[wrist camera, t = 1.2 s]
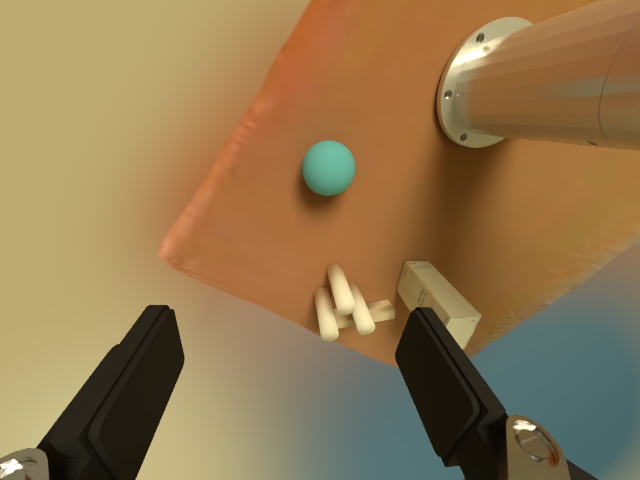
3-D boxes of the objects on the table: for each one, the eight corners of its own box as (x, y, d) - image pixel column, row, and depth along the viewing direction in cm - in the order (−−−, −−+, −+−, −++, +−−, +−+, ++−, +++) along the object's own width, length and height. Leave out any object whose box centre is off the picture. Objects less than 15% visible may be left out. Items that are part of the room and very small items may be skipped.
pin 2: (357, 281, 39) (375, 320, 32) (358, 292, 40) (375, 332, 33) (343, 283, 39) (357, 323, 32) (344, 294, 40) (358, 336, 33)
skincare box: (404, 260, 38) (450, 316, 28) (429, 260, 39) (484, 314, 28) (395, 291, 41) (434, 352, 31) (419, 290, 42) (465, 350, 31)
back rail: (388, 299, 42) (395, 311, 39) (387, 305, 43) (394, 318, 40) (320, 311, 41) (323, 324, 38) (321, 317, 42) (324, 331, 39)
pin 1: (327, 286, 39) (338, 327, 31) (329, 297, 40) (339, 339, 32) (313, 288, 39) (320, 330, 31) (314, 299, 40) (321, 342, 32)
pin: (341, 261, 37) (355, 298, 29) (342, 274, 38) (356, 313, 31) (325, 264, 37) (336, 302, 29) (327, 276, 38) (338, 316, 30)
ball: (347, 135, 29) (361, 139, 23) (349, 184, 31) (362, 198, 26) (297, 141, 28) (300, 147, 23) (304, 191, 31) (308, 206, 26)
